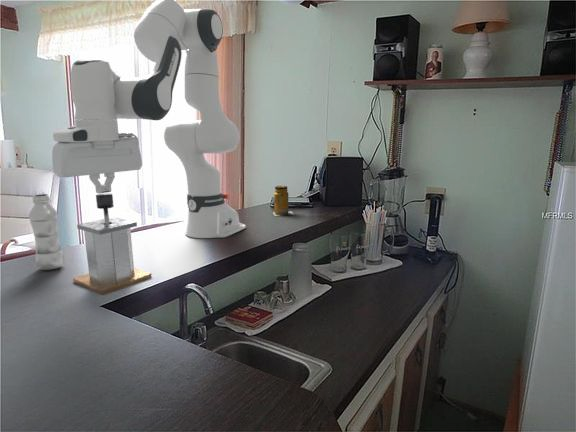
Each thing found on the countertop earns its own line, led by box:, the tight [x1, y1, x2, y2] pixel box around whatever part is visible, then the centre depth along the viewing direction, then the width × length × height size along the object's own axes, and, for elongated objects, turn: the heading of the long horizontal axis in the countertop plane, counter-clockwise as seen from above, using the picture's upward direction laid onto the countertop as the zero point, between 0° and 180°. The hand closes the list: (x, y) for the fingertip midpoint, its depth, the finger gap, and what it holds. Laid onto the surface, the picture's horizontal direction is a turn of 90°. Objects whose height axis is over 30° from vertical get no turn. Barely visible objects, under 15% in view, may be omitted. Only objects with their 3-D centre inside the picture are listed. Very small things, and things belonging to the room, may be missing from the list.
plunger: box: [95, 193, 114, 225], centre depth 98 cm, size 7×7×17 cm
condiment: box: [272, 185, 295, 217], centre depth 172 cm, size 7×8×12 cm
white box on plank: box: [72, 216, 152, 296], centre depth 99 cm, size 13×13×14 cm
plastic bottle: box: [28, 193, 65, 271], centre depth 106 cm, size 6×7×20 cm
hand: (103, 192), depth 96 cm, fingers closed
